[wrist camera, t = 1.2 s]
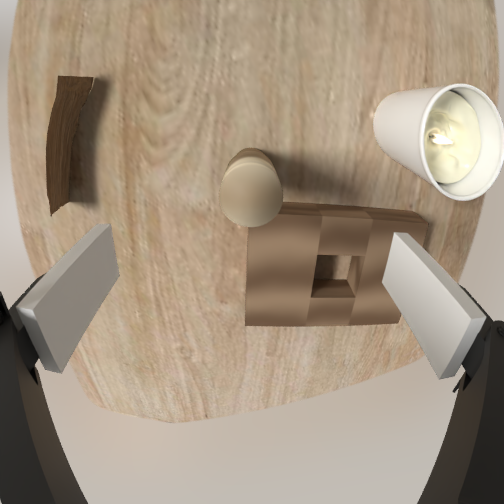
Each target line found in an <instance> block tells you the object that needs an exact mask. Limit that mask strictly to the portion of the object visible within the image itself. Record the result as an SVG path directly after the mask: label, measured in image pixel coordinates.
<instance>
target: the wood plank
mask: <svg viewBox="0 0 504 504" xmlns="http://www.w3.org/2000/svg"><path fill="white" fill-rule="evenodd" d="M93 78H94V77H77V76H58V83H57V93H56V99H55V102H54V105H53V108H52V112H51V117H50V122H49V127H48V133H47V144H46V177H47V196H48V199H49V205H50V213H51V216H52V214H53V213H54V212H56V211H57V210H58V209H59V208H60V207H61V206H64V205H65V204H66V203H68V202H69V180H70V179H69V178H70V166H71V149H72V141H73V139H74V136H75V132H76V129H77V126H78V120H79V116H80V112H81V108H82V106H83V105H84V104H85V102H86V99H87V97H88V94H89V92H90V90H91V88H92V83H93Z"/></svg>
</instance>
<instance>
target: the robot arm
mask: <svg viewBox="0 0 504 504" xmlns="http://www.w3.org/2000/svg"><path fill="white" fill-rule="evenodd" d="M119 276H120V275H119V270H118V264H117V259H116V253H115V247H114V241H113V234H112V228H111V224H96V225H95V226H94V227H93V228H92V229H91V230H90V231H89V232H87V233H86V234H85V235H84V236H83V237H82V238H81V239H80V240H79V241H78V242H77V243H76V244H75V245H74V246H73V247H72V248H71V249H70V250H69V251H68V252H67V253H66V254H65V255H64V256H63V257H62V258H61V259H60V260H59V261H58V262H57V263H56V264H55V265H54V266H53V267H52V268H51V269H50V270H49V271H48V272H47V273H45V274H43V275H42V276H40V277H39V278H37V279H36V280H35V281H34V282H33V283H32V284H31V285H30V288H28V289H27V290H26V291H25V293H24V294H22V295H21V297H20V298H19V299H18V300H17V301H16V302H15V303H14V304H13V305H12V307H11V308H10V309H9V310H8V308H7V306H6V303H5V301H4V298H3V295H2V293H1V292H0V500H1V503H2V504H88V502H87V501H86V499H85V497H84V495H83V493H82V491H81V489H80V487H79V485H78V483H77V481H76V478H75V476H74V474H73V472H72V470H71V467H70V465H69V463H68V460H67V458H66V456H65V453H64V451H63V448H62V446H61V443H60V441H59V438H58V435H57V433H56V430H55V427H54V424H53V421H52V418H51V415H50V412H49V409H48V405H47V402H46V399H45V395H44V392H43V388H42V385H41V381H40V377H39V373H38V370H37V369H36V367H35V363H36V362H37V360H38V359H40V361H41V363H42V364H43V366H44V368H45V370H49V371H53V372H57V373H62V372H63V370H64V368H65V366H66V365H67V363H68V361H69V359H70V357H71V355H72V354H73V352H74V350H75V348H76V346H77V345H78V343H79V341H80V339H81V338H82V336H83V334H84V332H85V331H86V329H87V327H88V326H89V324H90V322H91V321H92V319H93V317H94V316H95V314H96V312H97V311H98V309H99V307H100V306H101V304H102V303H103V301H104V299H105V298H106V296H107V295H108V293H109V291H110V290H111V288H112V287H113V285H114V284H115V282H116V280H117V279H118V277H119ZM382 283H383V285H384V286H385V288H386V290H387V291H388V293H389V294H390V296H391V298H392V299H393V301H394V302H395V304H396V306H397V307H398V309H399V310H400V312H401V314H402V315H403V317H404V319H405V320H406V322H407V324H408V325H409V327H410V329H411V330H412V332H413V334H414V335H415V337H416V339H417V341H418V342H419V344H420V346H421V348H422V349H423V351H424V353H425V355H426V356H427V358H428V360H429V362H430V364H431V366H432V367H433V369H434V371H435V373H436V375H437V377H438V378H439V379H444V378H449V377H453V376H455V374H456V373H457V371H458V369H459V368H460V366H461V364H462V365H463V367H464V369H465V372H464V374H463V376H462V377H461V379H460V380H459V382H458V384H457V385H456V387H455V388H454V390H453V392H454V393H455V391H456V390H457V389H459V390H458V394H457V398H456V401H455V405H454V409H453V412H452V416H451V419H450V422H449V425H448V429H447V432H446V435H445V438H444V441H443V444H442V446H441V449H440V452H439V455H438V457H437V460H436V462H435V465H434V467H433V470H432V472H431V475H430V477H429V480H428V482H427V484H426V486H425V488H424V491H423V493H422V495H421V497H420V499H419V501H418V503H417V504H504V322H503V321H493V320H492V319H491V318H490V317H489V315H488V314H487V313H486V312H485V311H484V310H483V309H482V307H481V306H480V305H479V304H478V303H477V301H476V300H475V299H474V298H473V297H471V295H470V294H469V292H468V291H467V290H466V289H465V288H463V287H462V286H461V285H459V284H458V283H456V282H455V281H454V279H453V278H452V277H451V276H450V275H449V274H448V273H447V272H446V271H445V270H444V269H443V268H442V267H441V266H440V265H439V264H438V263H437V262H436V261H435V260H434V259H433V257H432V256H431V255H430V254H429V253H428V252H427V251H426V250H425V249H424V248H423V247H421V246H420V245H419V244H418V243H417V242H416V241H415V240H414V239H413V238H412V237H411V236H410V235H409V234H408V233H399V232H394V235H393V240H392V244H391V248H390V253H389V257H388V261H387V265H386V269H385V273H384V276H383V280H382Z"/></svg>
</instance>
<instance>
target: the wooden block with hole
mask: <svg viewBox="0 0 504 504" xmlns="http://www.w3.org/2000/svg"><path fill="white" fill-rule="evenodd" d="M428 225H429V224H428V223H427V222H426V221H425V220H423V219H422V218H421V217H420V216H418V215H417V214H416V213H415V212H413V211H403V210H393V209H381V208H370V207H357V206H343V205H328V204H312V203H294V202H283V203H282V206H281V209H280V211H279V212H278V214H277V215H276V216H275V217H274V218H273V219H272V220H271V221H270V222H268V223H266V224H264V225H261V226H257V227H248V245H247V274H246V304H245V326H351V325H376V324H394V323H398V322H399V320H400V317H401V312H400V310H399V309H398V307H397V306H396V304H395V302H394V301H393V299H392V298H391V296H390V294H389V293H388V291H387V290H386V288H385V286H384V285H383V283H382V280H383V276H384V273H385V269H386V265H387V261H388V257H389V253H390V248H391V244H392V240H393V235H394V232H399V233H408V234H409V235H410V236H411V237H412V238H413V239H414V240H415V241H416V242H417V243H418V244H419V245H420V246H421V247H423V245H424V241H425V237H426V233H427V229H428ZM317 255H350V256H352V258H351V263H350V268H349V273H348V277H347V280H323V279H314V273H315V267H316V260H317Z"/></svg>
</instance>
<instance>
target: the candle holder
mask: <svg viewBox="0 0 504 504" xmlns="http://www.w3.org/2000/svg"><path fill="white" fill-rule="evenodd" d="M373 130H374V135H375V138H376V141H377V143H378V145H379V146H380V148H381V149H382V151H383V152H384V153H385V154H386V155H387V156H389V157H390V158H391V159H393V160H394V161H396V162H397V163H399V164H401V165H402V166H404V167H405V168H407V169H408V170H410V171H412V172H413V173H415V174H416V175H418V176H419V177H421V178H422V179H424V180H425V181H427V182H428V183H430V184H431V185H432V186H434V187H435V188H437V189H438V190H439V191H440V192H441V193H442V194H444V195H445V196H447V197H449V198H451V199H454V200H459V201H467V200H472V199H475V198H477V197H479V196H481V195H482V194H484V193H485V192H486V191H487V190H488V189H489V188H490V187H491V186H492V185H493V184H494V182H495V181H496V179H497V177H498V175H499V173H500V171H501V168H502V165H503V162H504V126H503V122H502V119H501V116H500V114H499V112H498V110H497V108H496V106H495V105H494V103H493V102H492V100H491V99H490V98H489V97H488V96H487V95H486V94H485V93H484V92H482V91H481V90H480V89H478V88H476V87H474V86H471V85H468V84H462V83H458V84H451V85H445V86H435V87H426V88H417V89H410V90H403V91H398V92H394V93H392V94H390V95H388V96H386V97H385V98H384V99H383V100H382V101H381V102H380V104H379V105H378V107H377V109H376V111H375V114H374V119H373Z"/></svg>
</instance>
